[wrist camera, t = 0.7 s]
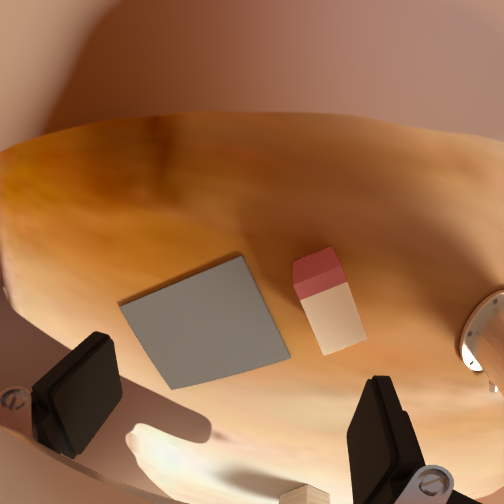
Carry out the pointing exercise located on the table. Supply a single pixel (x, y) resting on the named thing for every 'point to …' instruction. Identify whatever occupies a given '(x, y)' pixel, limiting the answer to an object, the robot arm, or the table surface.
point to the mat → (207, 326)
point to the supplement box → (305, 496)
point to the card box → (327, 301)
